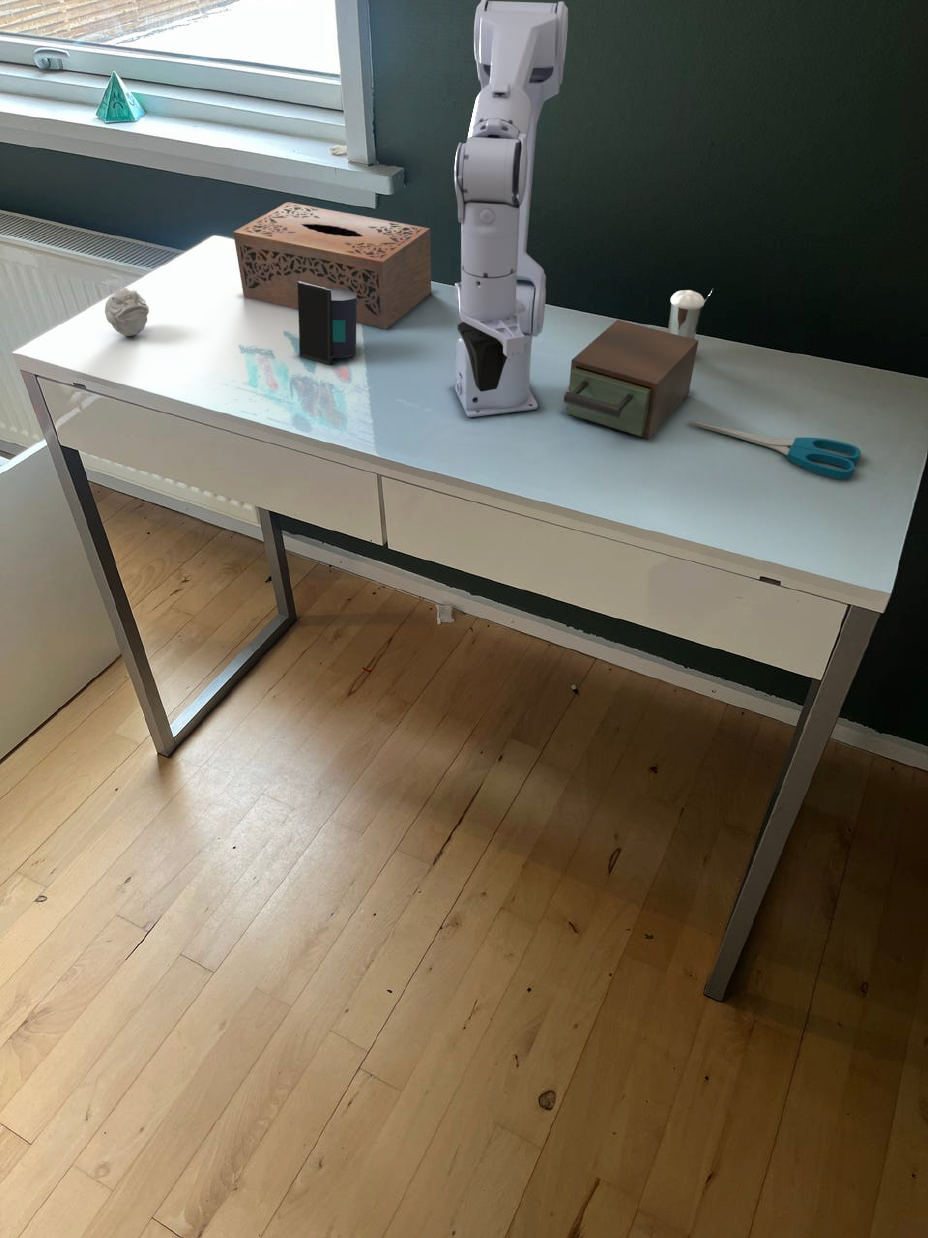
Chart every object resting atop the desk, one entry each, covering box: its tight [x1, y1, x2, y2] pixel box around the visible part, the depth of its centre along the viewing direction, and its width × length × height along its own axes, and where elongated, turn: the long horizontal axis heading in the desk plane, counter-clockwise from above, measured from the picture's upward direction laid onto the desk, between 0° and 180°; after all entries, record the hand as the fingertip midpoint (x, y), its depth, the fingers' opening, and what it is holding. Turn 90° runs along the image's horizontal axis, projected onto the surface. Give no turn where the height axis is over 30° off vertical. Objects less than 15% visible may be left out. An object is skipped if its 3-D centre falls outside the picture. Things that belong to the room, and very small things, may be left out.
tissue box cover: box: [232, 201, 432, 330], centre depth 142 cm, size 26×14×10 cm, turn 64°
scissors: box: [693, 421, 862, 480], centre depth 113 cm, size 7×1×20 cm
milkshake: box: [667, 288, 714, 339], centre depth 127 cm, size 4×5×10 cm
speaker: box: [297, 281, 357, 366], centre depth 127 cm, size 8×6×10 cm
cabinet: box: [566, 319, 699, 440], centre depth 118 cm, size 13×11×8 cm
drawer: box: [563, 368, 651, 437], centre depth 116 cm, size 17×10×6 cm, turn 148°
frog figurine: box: [104, 287, 150, 337], centre depth 133 cm, size 6×7×7 cm
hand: (486, 387), depth 103 cm, fingers closed
